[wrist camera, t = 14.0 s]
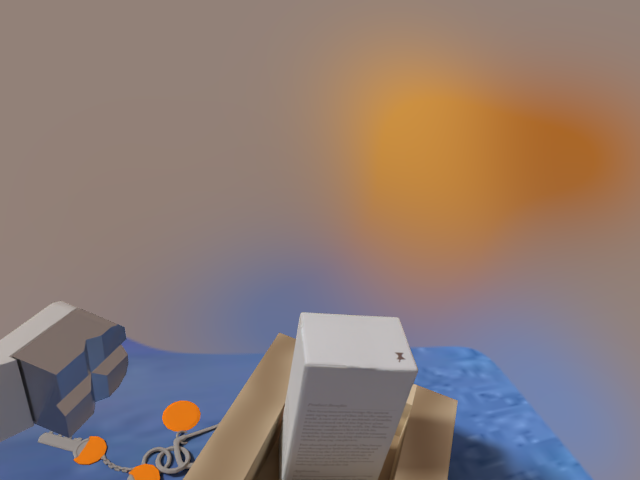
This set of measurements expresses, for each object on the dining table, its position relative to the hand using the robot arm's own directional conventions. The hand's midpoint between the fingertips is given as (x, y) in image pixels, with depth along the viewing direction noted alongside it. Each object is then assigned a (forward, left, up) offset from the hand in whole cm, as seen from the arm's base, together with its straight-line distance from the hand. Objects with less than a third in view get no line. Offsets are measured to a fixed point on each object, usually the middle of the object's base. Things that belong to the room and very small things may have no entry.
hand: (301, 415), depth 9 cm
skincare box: (+1, -14, -22) cm, 26 cm away
